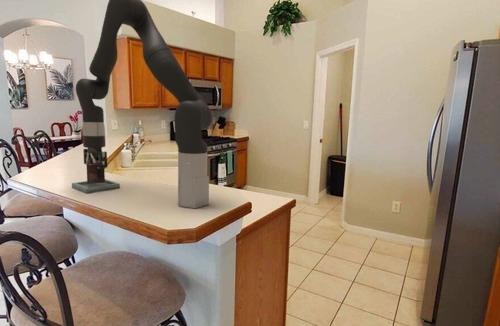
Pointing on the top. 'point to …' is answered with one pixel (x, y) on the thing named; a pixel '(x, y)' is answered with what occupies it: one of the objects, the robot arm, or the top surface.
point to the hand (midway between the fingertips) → (95, 177)
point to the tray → (95, 186)
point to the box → (93, 174)
